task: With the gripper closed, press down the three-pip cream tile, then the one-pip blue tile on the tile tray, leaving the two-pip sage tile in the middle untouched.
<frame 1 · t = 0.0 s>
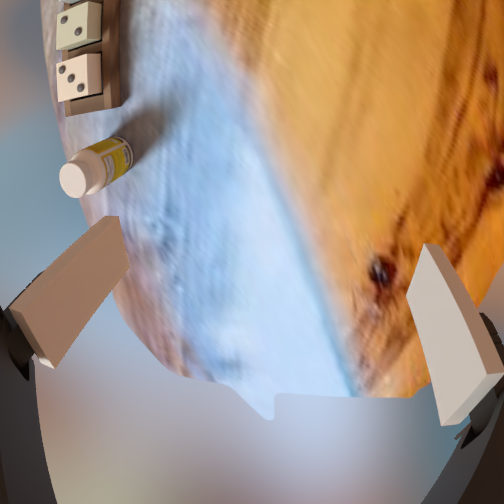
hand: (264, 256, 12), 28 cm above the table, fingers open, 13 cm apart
tile two: (78, 26, 27), point 4 cm above the table, slide at 0.0 cm
pill bottle: (118, 155, 41), on the table
tile tray: (94, 27, 30), on the table
tile three: (78, 77, 31), point 4 cm above the table, slide at 0.0 cm
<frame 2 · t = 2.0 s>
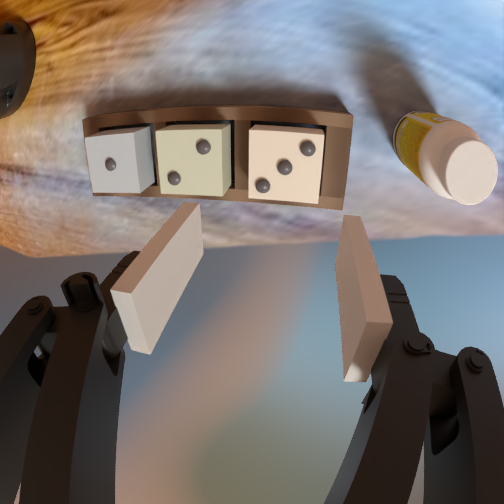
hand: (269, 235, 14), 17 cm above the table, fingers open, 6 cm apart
tile two: (194, 158, 26), point 4 cm above the table, slide at 0.0 cm
pill bottle: (419, 139, 25), on the table
tile tray: (207, 148, 29), on the table
tile one: (119, 160, 27), point 4 cm above the table, slide at 0.0 cm
tile three: (286, 162, 25), point 4 cm above the table, slide at 0.0 cm
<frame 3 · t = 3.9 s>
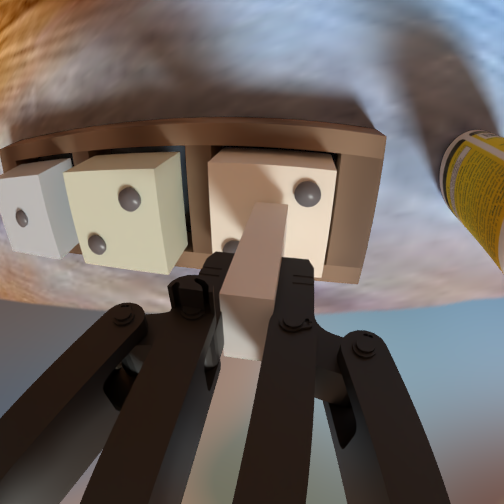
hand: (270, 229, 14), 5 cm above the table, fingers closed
tile two: (126, 210, 16), point 4 cm above the table, slide at 0.0 cm
pill bottle: (473, 173, 15), on the table
tile tray: (155, 185, 19), on the table
tile one: (36, 208, 17), point 4 cm above the table, slide at 0.0 cm
tile three: (272, 210, 16), point 3 cm above the table, slide at -1.1 cm, touching gripper
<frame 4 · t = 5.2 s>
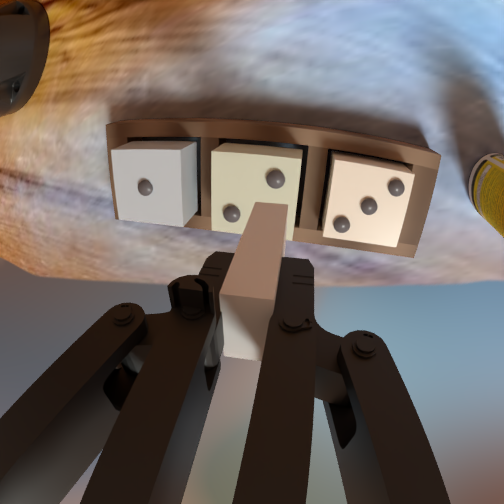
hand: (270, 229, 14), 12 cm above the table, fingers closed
tile two: (256, 189, 21), point 4 cm above the table, slide at 0.0 cm
pill bottle: (491, 183, 21), on the table
tile tray: (264, 174, 25), on the table
tile one: (154, 181, 22), point 4 cm above the table, slide at 0.0 cm
tile three: (365, 198, 21), point 3 cm above the table, slide at -1.3 cm
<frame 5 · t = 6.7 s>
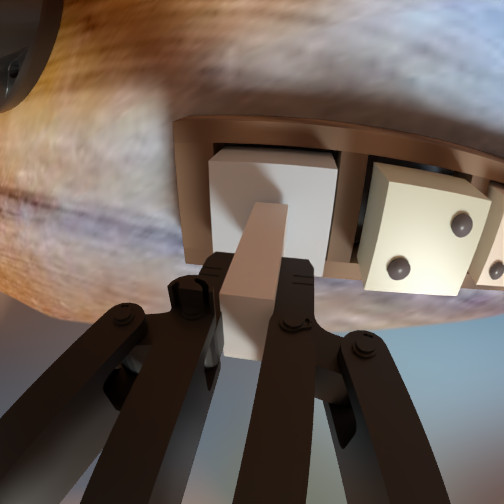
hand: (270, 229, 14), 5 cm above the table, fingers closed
tile two: (421, 232, 14), point 4 cm above the table, slide at 0.0 cm
tile tray: (401, 202, 17), on the table
tile one: (272, 209, 16), point 3 cm above the table, slide at -0.8 cm, touching gripper
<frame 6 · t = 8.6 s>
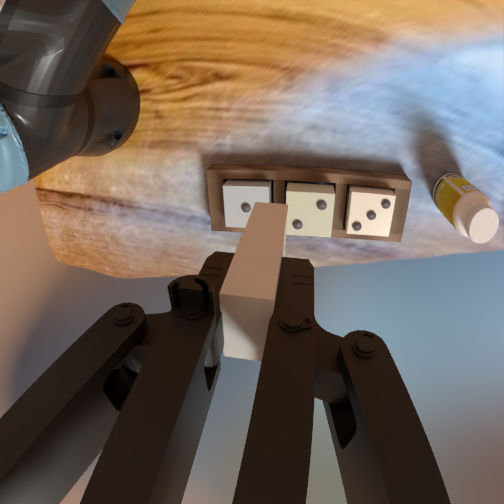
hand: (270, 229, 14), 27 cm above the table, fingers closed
tile two: (309, 209, 38), point 4 cm above the table, slide at 0.0 cm
pill bottle: (449, 191, 37), on the table
tile tray: (309, 198, 41), on the table
tile one: (248, 203, 40), point 3 cm above the table, slide at -1.3 cm
tile three: (369, 210, 38), point 3 cm above the table, slide at -1.3 cm
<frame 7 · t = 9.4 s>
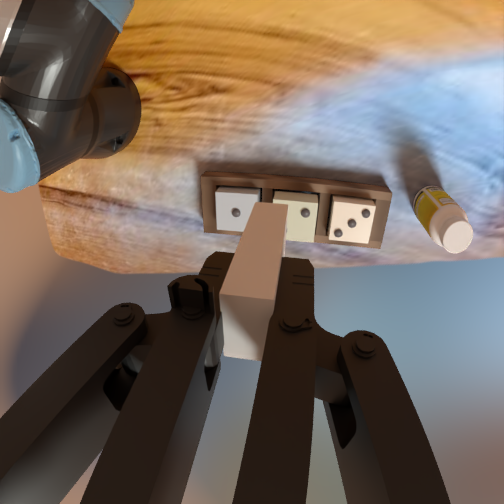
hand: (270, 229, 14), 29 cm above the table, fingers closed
tile two: (294, 216, 41), point 4 cm above the table, slide at 0.0 cm
pill bottle: (429, 202, 41), on the table
tile tray: (295, 205, 45), on the table
tile one: (238, 208, 43), point 3 cm above the table, slide at -1.3 cm
tile three: (350, 218, 41), point 3 cm above the table, slide at -1.3 cm
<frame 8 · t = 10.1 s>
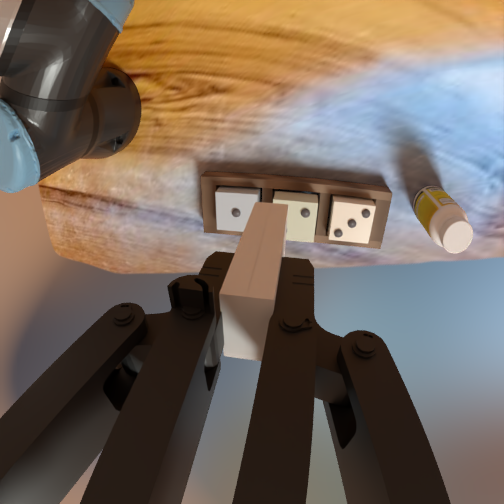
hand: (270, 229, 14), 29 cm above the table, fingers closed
tile two: (294, 216, 41), point 4 cm above the table, slide at 0.0 cm
pill bottle: (429, 202, 41), on the table
tile tray: (295, 205, 45), on the table
tile one: (238, 208, 43), point 3 cm above the table, slide at -1.3 cm
tile three: (350, 218, 41), point 3 cm above the table, slide at -1.3 cm
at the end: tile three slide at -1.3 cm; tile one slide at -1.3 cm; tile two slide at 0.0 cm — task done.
